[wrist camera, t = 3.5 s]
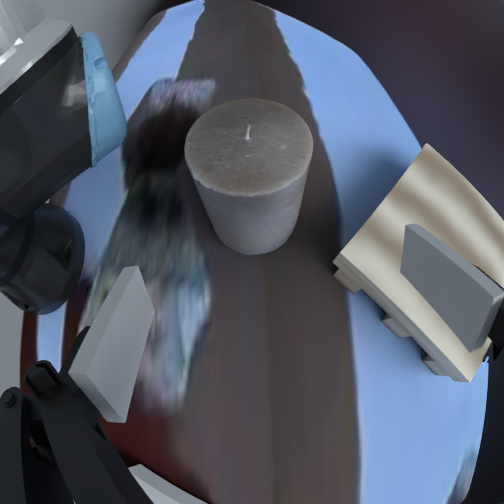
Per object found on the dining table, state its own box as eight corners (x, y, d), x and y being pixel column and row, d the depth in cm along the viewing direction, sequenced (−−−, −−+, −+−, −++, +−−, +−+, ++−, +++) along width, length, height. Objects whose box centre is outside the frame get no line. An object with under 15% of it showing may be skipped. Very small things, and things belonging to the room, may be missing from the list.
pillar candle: (242, 168, 35) (230, 73, 21) (311, 205, 33) (338, 115, 19) (195, 229, 33) (150, 149, 18) (268, 274, 31) (270, 213, 16)
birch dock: (440, 379, 26) (469, 382, 20) (326, 269, 30) (339, 252, 25) (498, 261, 30) (524, 248, 24) (408, 168, 34) (426, 142, 29)
